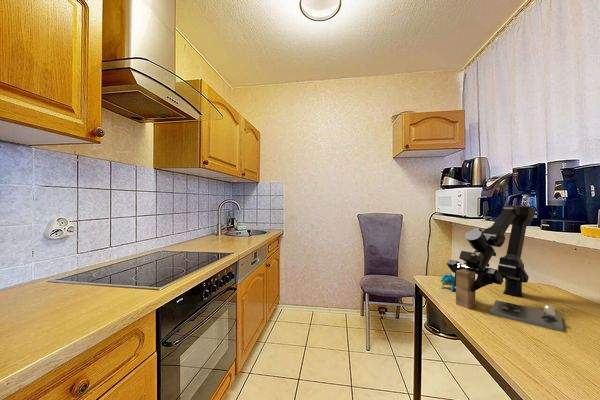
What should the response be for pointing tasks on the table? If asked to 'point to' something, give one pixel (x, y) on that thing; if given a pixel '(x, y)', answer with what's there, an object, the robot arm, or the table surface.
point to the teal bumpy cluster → (448, 281)
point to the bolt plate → (529, 314)
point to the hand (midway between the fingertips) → (463, 288)
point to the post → (465, 288)
